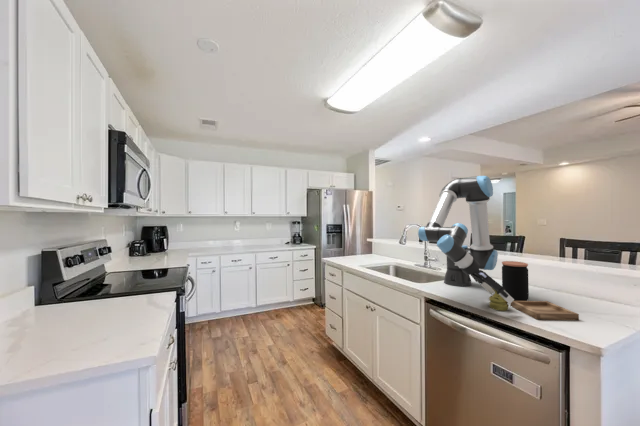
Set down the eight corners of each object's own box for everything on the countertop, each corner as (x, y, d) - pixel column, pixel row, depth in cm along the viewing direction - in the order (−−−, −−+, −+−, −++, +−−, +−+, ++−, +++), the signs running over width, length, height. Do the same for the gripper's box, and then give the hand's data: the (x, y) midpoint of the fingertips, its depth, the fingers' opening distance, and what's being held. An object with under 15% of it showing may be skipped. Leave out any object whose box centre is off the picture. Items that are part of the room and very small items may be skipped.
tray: (510, 306, 122) (510, 300, 122) (547, 306, 121) (547, 301, 121) (536, 319, 106) (536, 313, 106) (578, 320, 105) (578, 314, 105)
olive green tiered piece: (490, 304, 125) (489, 283, 125) (509, 307, 120) (509, 285, 120) (487, 308, 119) (487, 286, 119) (508, 312, 114) (507, 289, 115)
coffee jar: (519, 295, 137) (519, 261, 138) (534, 302, 127) (533, 265, 127) (497, 295, 138) (497, 261, 139) (510, 302, 128) (509, 264, 128)
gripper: (449, 264, 133) (481, 294, 132) (474, 275, 108) (513, 312, 107) (460, 253, 133) (491, 283, 132) (488, 262, 108) (527, 299, 107)
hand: (501, 296), depth 119 cm, fingers open, 13 cm apart
